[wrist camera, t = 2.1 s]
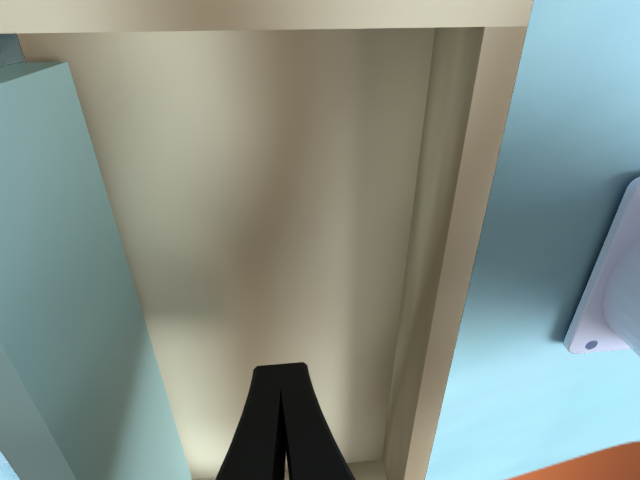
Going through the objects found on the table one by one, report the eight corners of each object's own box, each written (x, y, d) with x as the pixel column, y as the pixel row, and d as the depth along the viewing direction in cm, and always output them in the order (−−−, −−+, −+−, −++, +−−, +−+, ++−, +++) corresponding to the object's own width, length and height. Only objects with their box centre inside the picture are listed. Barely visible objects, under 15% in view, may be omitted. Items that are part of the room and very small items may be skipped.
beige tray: (457, -70, 10) (556, -104, 6) (388, 449, 21) (411, 539, 17) (18, -73, 9) (-137, -113, 6) (185, 470, 20) (167, 570, 16)
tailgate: (67, 61, 9) (-123, 125, 5) (191, 477, 17) (164, 638, 13) (18, 62, 9) (-222, 127, 4) (166, 479, 17) (132, 642, 13)
